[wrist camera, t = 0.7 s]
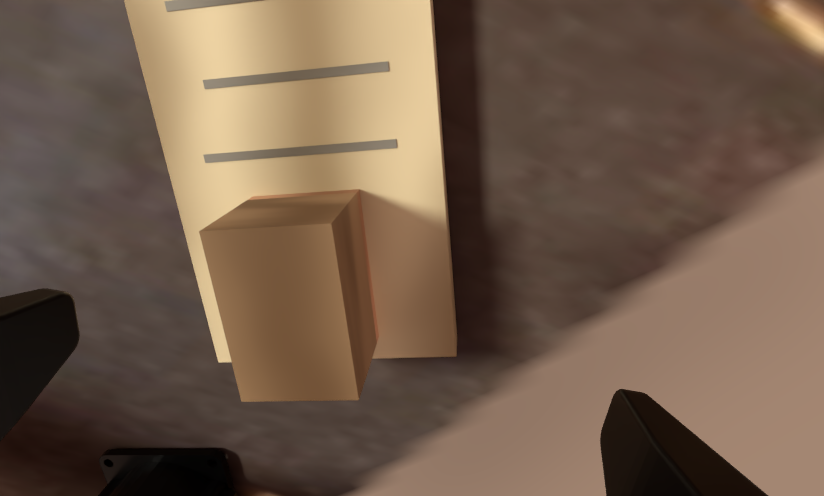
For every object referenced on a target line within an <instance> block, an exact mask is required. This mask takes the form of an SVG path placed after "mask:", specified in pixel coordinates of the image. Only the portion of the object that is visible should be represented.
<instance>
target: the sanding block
mask: <svg viewBox="0 0 824 496" xmlns="http://www.w3.org/2000/svg"><path fill="white" fill-rule="evenodd" d="M199 234H200V238H201V242H202V246H203V250H204V254H205V258H206V261H207V265H208V269H209V273H210V277H211V281H212V285H213V289H214V293H215V297H216V301H217V305H218V309H219V313H220V317H221V321H222V325H223V329H224V333H225V337H226V341H227V345H228V349H229V353H230V357H231V361H232V365H233V369H234V373H235V377H236V381H237V385H238V389H239V393H240V397H241V401H242V402H254V401H327V400H359V398H360V395H361V392H362V388H363V385H364V382H365V379H366V376H367V373H368V370H369V366H370V363H371V360H372V357H373V354H374V351H375V348H376V345H377V341H378V338H379V333H378V325H377V318H376V310H375V302H374V295H373V287H372V280H371V272H370V265H369V257H368V250H367V242H366V235H365V227H364V220H363V212H362V204H361V197H360V189H353V190H339V191H324V192H310V193H295V194H281V195H266V196H253V197H251V198H250V199H248V200H246V201H245V202H243V203H242V204H240V205H239V206H237V207H236V208H234V209H233V210H231V211H230V212H228V213H227V214H225V215H223V216H222V217H220V218H219V219H217V220H216V221H214V222H213V223H211V224H210V225H208V226H207V227H205V228H203V229H202V230H200V231H199Z"/></svg>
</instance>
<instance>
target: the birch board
mask: <svg viewBox="0 0 824 496" xmlns="http://www.w3.org/2000/svg"><path fill="white" fill-rule="evenodd" d="M124 2H125V6H126V10H127V14H128V18H129V21H130V25H131V29H132V33H133V37H134V40H135V44H136V48H137V52H138V56H139V60H140V63H141V67H142V71H143V75H144V79H145V83H146V86H147V90H148V94H149V98H150V102H151V106H152V109H153V113H154V117H155V121H156V125H157V129H158V132H159V136H160V140H161V144H162V148H163V152H164V155H165V159H166V163H167V167H168V171H169V175H170V178H171V182H172V186H173V190H174V194H175V198H176V201H177V205H178V209H179V213H180V217H181V221H182V224H183V228H184V232H185V236H186V240H187V244H188V247H189V251H190V255H191V259H192V263H193V267H194V270H195V274H196V278H197V282H198V286H199V290H200V293H201V297H202V301H203V305H204V309H205V313H206V316H207V320H208V324H209V328H210V332H211V336H212V339H213V343H214V347H215V351H216V355H217V358H218V362H232V361H231V357H230V353H229V349H228V345H227V341H226V337H225V333H224V329H223V325H222V321H221V317H220V313H219V309H218V305H217V301H216V297H215V293H214V289H213V285H212V281H211V277H210V273H209V269H208V265H207V261H206V258H205V254H204V250H203V246H202V242H201V238H200V234H199V231H200V230H202V229H203V228H205V227H207V226H208V225H210V224H211V223H213V222H214V221H216V220H217V219H219V218H220V217H222V216H223V215H225V214H227V213H228V212H230V211H231V210H233V209H234V208H236V207H237V206H239V205H240V204H242V203H243V202H245V201H246V200H248V199H250V198H251V197H253V196H266V195H281V194H295V193H310V192H324V191H339V190H353V189H360V197H361V204H362V212H363V220H364V227H365V235H366V242H367V250H368V257H369V265H370V272H371V280H372V287H373V295H374V302H375V310H376V318H377V325H378V333H379V338H378V341H377V345H376V348H375V351H374V354H373V357H372V359H374V358H415V357H456V355H457V327H456V313H455V300H454V286H453V272H452V258H451V245H450V231H449V217H448V203H447V189H446V176H445V162H444V148H443V134H442V121H441V107H440V93H439V79H438V65H437V52H436V38H435V24H434V10H433V0H124Z"/></svg>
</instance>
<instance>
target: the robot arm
mask: <svg viewBox="0 0 824 496" xmlns="http://www.w3.org/2000/svg"><path fill="white" fill-rule="evenodd" d="M79 336H80V334H79V327H78V321H77V315H76V308H75V302H74V299H73V297H72V296H71V294H69V293H67V292H64V291H58V290H53V289H47V288H46V289H37V290H33V291H28V292H24V293H19V294H15V295H10V296H5V297H1V298H0V441H1V439H2V438H3V437H4V436H5V435H6V434H7V433H8V432H9V431H10V430H11V429H12V427H13V426H14V425H15V424H16V423H17V422H18V420H19V419H20V418H21V417H22V416H23V414H24V413H25V412H26V411H27V409H28V408H29V407H30V406H31V404H32V403H33V402H34V401H35V399H36V398H37V397H38V395H39V394H40V393H41V392H42V390H43V389H44V388H45V387H46V385H47V384H48V383H49V382H50V380H51V379H52V378H53V376H54V375H55V374H56V373H57V371H58V370H59V369H60V368H61V366H62V365H63V364H64V363H65V361H66V360H67V359H68V357H69V356H70V355H71V354H72V352H73V351H74V350H75V348H76V346H77V344H78V341H79ZM600 444H601V453H602V462H603V470H604V479H605V487H606V496H768V495H767V494H766V493H764V492H763V491H762V490H761V489H759V488H758V487H757V486H756V485H755V484H753V483H752V482H751V481H750V480H749V479H748V478H746V477H745V476H744V475H743V474H742V473H740V472H739V471H738V470H737V469H736V468H734V467H733V466H732V465H731V464H730V463H728V462H727V461H726V460H725V459H724V458H722V457H721V456H720V455H719V454H718V453H716V452H715V451H714V450H713V449H711V448H710V447H709V446H708V445H707V444H706V443H704V442H703V441H702V440H701V439H699V438H698V437H697V436H696V435H695V434H693V433H692V432H691V431H690V430H689V429H687V428H686V427H685V426H684V425H683V424H682V423H680V422H679V421H678V420H677V419H676V418H675V417H673V416H672V415H671V414H670V413H668V412H667V411H666V410H665V409H664V408H663V407H661V406H660V405H659V404H658V403H656V402H655V401H654V400H653V399H652V398H651V397H649V396H648V395H647V394H645V393H642V392H636V391H630V390H625V389H619V390H618V391H616V393H615V394H614V396H613V398H612V401H611V404H610V407H609V410H608V413H607V416H606V419H605V421H604V424H603V427H602V431H601V438H600ZM214 460H215V461H214ZM99 463H100V466H101V468H102V471H103V474H104V476H105V479H106V481H107V486H106V487H105V488H104V489H103V490H102V492H101V493H100V494H99V495H98V496H237V493H236V491H235V490H234V486H233V483H232V479H231V475H230V472H229V468H228V465H227V461H226V457H225V455H224V454H223V453H222V452H221V451H219V450H214V449H111V450H107V451H106V452H105V453H104V454H103V455H102V456H101V457H100V459H99Z"/></svg>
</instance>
